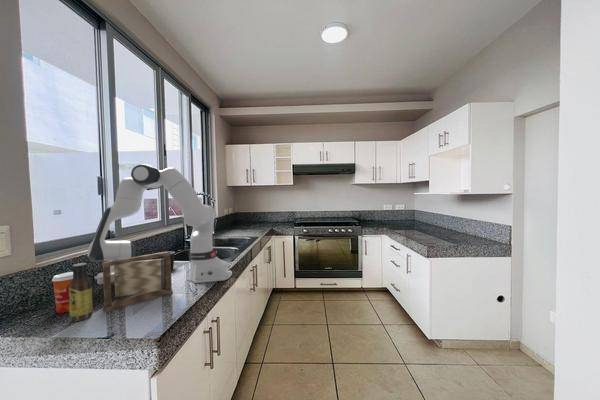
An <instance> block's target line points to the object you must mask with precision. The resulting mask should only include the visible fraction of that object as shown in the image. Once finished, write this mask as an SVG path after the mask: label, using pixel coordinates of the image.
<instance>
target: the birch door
mask: <svg viewBox="0 0 600 400" xmlns="http://www.w3.org/2000/svg"><path fill="white" fill-rule="evenodd" d="M114 276H115V282H114V294H115V295H114V297H115V298H116V297H117V298H118V297H123V296H130V295H132V296H133V295H141V294H144V293H148V292H155V291H162V290H165V269H164V259H159V258H155V259H154V258H153V260H152V259H146V260H141V261H135V262H130V263H124V264H118V265H114Z"/></svg>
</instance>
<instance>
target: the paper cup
mask: <svg viewBox="0 0 600 400" xmlns="http://www.w3.org/2000/svg"><path fill="white" fill-rule="evenodd" d="M72 279H73V271H68V272H64V273H63V272H62V273H59V274H56V275H54V276H53V277H52V279H51V281H52V283H53V292H54V300H55V309H56V310H55V311H56V313H57V314H65V313H64V312H66V313H68V312H69V284H70V282H71V281H72Z"/></svg>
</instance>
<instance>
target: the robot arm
mask: <svg viewBox="0 0 600 400" xmlns="http://www.w3.org/2000/svg"><path fill="white" fill-rule="evenodd" d="M130 176H131V177H125V178H123V179H121V180H120V183H119V185H118V188H117V191H116V196H115V201H114V202H113V203H112V205H111V206H110V207H107V208H105V210H104V212H103V213H102V215H101V219H100V221H99V224H98V225H97V228H96V231H95V233H94V236H93V239H91V242H90V245H89V246H88V249H87V252H86V253H87V254H86V255H87V258H88V259H89V260H90V261H92V262H93V263H98V262H107V261H113V260H119V259H125V258H131V257H136V246H135V244H134V243H133V241H131V240H107V239H106V236H107V235H108V234H107V233H108V231H109V230H110V229H109V228H110V226H111V224H112V223H113V222H115V221H117V220H120V219H123V218H127V217H129V218H130V217H131V216H134V215H135V214H137V213H138V212H139V211H140V209H141V206H142V202H143V201H142V200H143V194H144V192H145V191H151V190H157V189H161V188H164V189H165V190H166V191H167V192H168V193H169V194H170V197H171V198H172V199H173V200H174V202H176V204H177V205H178V207H179V209H180V211H181V213H182V215H183V220H184V223H185V224H186V225H188V226H189V227H192V231H191V235H190V237H189V243H190V244H189V245H190V252H189V262H190V266H189V267H190V268H189V274H188V277H187V279H188V281H189V282H193V284H199V283H210V282H212V283H213V282H219V281H220V282H221V281H226V280H228V279H230V278H231V277H232V276H233V271H232V270H229V267H228V265H227V262H225V261H224V260H222V259H220V258H219V257H218V256H217V253H218V251H217V250H214V248H213V232H214V227H215V226H214V225H215V217H216V210H215V209H214V207H212V206H211V205H209V204H203V203H202V202H201V200H200V198H199V196H198V193H197V191H196V190H195V188H194V187H193V186H192V185H191V184H190V182H189V181H188V180H187V178H186V177H185V176H184V175H183V174H182V173H181V172H180V171H179V170H178V169H177V168H174V167H167V168H165V169H163V170H159V169H158V168H157V167H154V166H152V165H149V164H146V163H145V164H143V163H141V164H137V165H135V166H134V167H133V168H132V169H131V172H130ZM110 273H111V283H115V276H114V265H113V266H110ZM94 279H95V280H97V285H103V271H102V272H99V273H97V275H95V276H94Z"/></svg>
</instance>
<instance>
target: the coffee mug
mask: <svg viewBox="0 0 600 400" xmlns="http://www.w3.org/2000/svg"><path fill="white" fill-rule="evenodd" d="M169 252H170V263H171V271H173V270H174V267H175V266H174V265H175V255H176V252H175V251H169ZM157 259H164V256H163V257H157ZM151 260H154V258H152V259H151Z"/></svg>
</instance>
